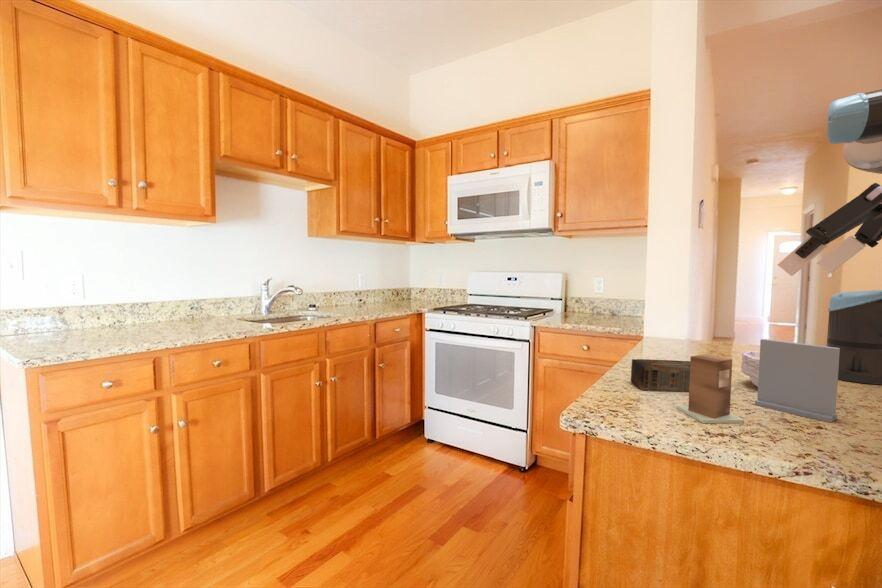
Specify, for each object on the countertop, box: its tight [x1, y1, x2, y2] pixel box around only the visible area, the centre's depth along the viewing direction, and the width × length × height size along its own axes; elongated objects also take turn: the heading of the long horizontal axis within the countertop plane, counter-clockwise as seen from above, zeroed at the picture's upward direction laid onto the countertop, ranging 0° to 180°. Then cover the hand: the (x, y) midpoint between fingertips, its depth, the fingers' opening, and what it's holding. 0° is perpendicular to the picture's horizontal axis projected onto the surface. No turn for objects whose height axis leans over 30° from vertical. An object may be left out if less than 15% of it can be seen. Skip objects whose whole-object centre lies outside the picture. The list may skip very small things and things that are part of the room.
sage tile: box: [676, 404, 745, 424], centre depth 80 cm, size 8×8×1 cm
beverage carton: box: [630, 358, 690, 393], centre depth 99 cm, size 8×19×7 cm, turn 85°
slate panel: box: [754, 338, 840, 423], centre depth 82 cm, size 12×4×14 cm, turn 33°
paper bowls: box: [740, 350, 760, 388], centre depth 97 cm, size 15×15×8 cm
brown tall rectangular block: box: [688, 353, 733, 419], centre depth 80 cm, size 5×5×11 cm
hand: (805, 269), depth 72 cm, fingers open, 13 cm apart
